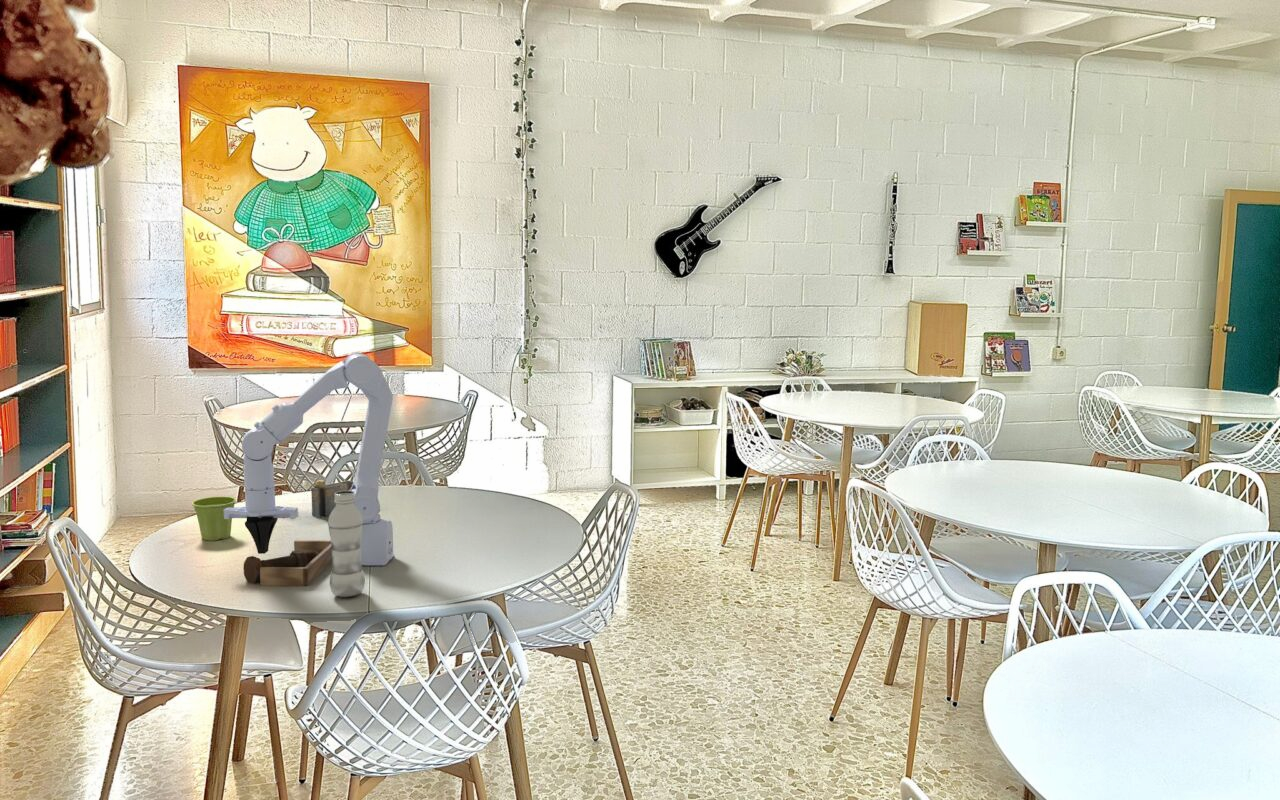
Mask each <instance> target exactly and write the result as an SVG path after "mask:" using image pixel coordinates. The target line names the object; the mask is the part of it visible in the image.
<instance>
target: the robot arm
mask: <svg viewBox="0 0 1280 800" xmlns="http://www.w3.org/2000/svg"><path fill="white" fill-rule="evenodd" d="M348 382H349V383H350V384H352V385H353V386H355V387H356V388H358V389H359V390H360V391H361V392H362V394H364V396H365V397H366V398H367V400H368V402H367V403H368V404H367V409H366V415H365V421H364V425H363V433H362V438H361V444H360V448H359V454H358V460H357V466H356V470H355V471H356V472H355V475H354V477H353V485H352V487H351V489H350V490H349V491H354V495H355V502H354V505H355V507H356V508H357V509H358V510H359V512H360V513H361V515H362V518H363V523H362V532H361V546H360V548H361V561H362V566H387V564H388V563H389V562H390V560H391V559H392V558H393V557H394V556H395V553H394V531H393V529H394V528H393V523H392V521H391V520H389V519H388V520H387V519H382V518H381V516H382V515H380V510H381V503H380V502H379V498H378V497H379V484H380V482H379V480H380V473H381V472H380V471H381V467H382V462H383V461H382V460H383V455H384V450H385V445H386V444H385V443H386V438H387V432H388V427H389V421H390V415H391V410H392V405H393V400H394V399H393V392H392V390H391V388H390V386H389V384H388V382H387V380H386V378H385V375H384V373H383V369H382V368H381V367H380V366H378V364H377V363H376V362H375V361H374V360H373V359H371V358H370V357H369V356H368V355H367V354H364V353H361V352H354V353H350V354H349V355H347V357H345V359H344V360H340V361H339V362H337V363H336V364H335V365H333V366H332V367H331V368H329V369H328V370H327V371H325V373H324V374H322V375H321V376H320V377H319V378H318V379H317V380H316V381H314V383H313V384H311V385H310V386H309V387H308V388H307V389H306V390H305V391H304V392H302V394H301V395H299V396H298V397H297V398H296V399H295V400H294V401H293V402H281V404H279V405H278V404H274V406H273V407H271V409H272V411H271V412H270V413H268V415H267V416H266V417H264V418H263V419H262V420H261V421H260V422H259V421H255V423H254V424H253V427H254V428H251V429H250V430H248V431H246V433H245V434H244V435H243V438H242V442H241V449H242V452H243V455H244V456H243V458H242V459H243V464H244V465H243V468H242V469H243V485H244V500H245V501H244V503H245V506H238V507H235V506H234V508H226V509H224V510H223V511H224V519H230V518H232V519H246V520H245V522H244V526H245V528H246V529H247V530H248V532H249V534H250V535H251V537H252V539H253V542H254V544H255V547H256V550H257V551H256V552H257V554H260V555H261V554H263V555H264V554H266V553H267V552H269V546H270V541H271V537H272V534H273V531H274V529H275V527H276V524H277V522H278V519H290V520H291V519H292V520H296V519H297V518H298V517H299V507H295V506H294V507H292V506H281V505H276V494H275V493H276V491H275V489H276V488H275V475H274V474H275V473H274V471H275V470H274V464H273V463H272V452H273V450H274V446H275V445H279V444H280V443H282V442H283V441H284V440H285V439H286V438H287V437H289V436H290V435H291V434H292V433H293V432H294V431H296V430H297V429H298V428H299V427H300V426H302V424H304V415H305V413H307V412H308V411H309V410H311V409H312V408H313V407H314V406H316V405H317V404H318V403H319V402H321V400H323V399H324V398H325V397H327V396H328V395H329V394H330V393H331V392H333V391H335V390H339V389H341V390H342V389H346V388H347V389H348V388H349V384H348Z"/></svg>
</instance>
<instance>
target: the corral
mask: <svg viewBox="0 0 1280 800" xmlns="http://www.w3.org/2000/svg"><path fill="white" fill-rule="evenodd" d="M293 549H294V550H293V551H295V550H301V551H303V552H304V553H307V552H311V551H316V552H317V553H318V554H319V555H317V556H316V557H315V558H314V559H313V560H312V561H311V562H310V563H308V564H307V565H306V566H305V567H261V568H260V583H259V584H260V586H261V587H262V586H263V587H264V586H269V587H270V586H271V587H272V586H273V587H274V586H276V587H281V586H282V587H297V586H298V587H299V586H300V587H308V586H310V584H311V583H312V582H313V581H314V580H315V579H316V578H318V576H320V575H321V573H323V572H324V571H325V570H326V569H327V568H328V567H329V566H330V565H332V547H331V539H329V540H327V539H326V540H325V539H322V540H318V539H315V540H313V539H312V540H311V539H310V540H309V539H308V540H306V539H304V540H303V539H302V540H301V539H300V540H298V539H295V540H294V541H293Z"/></svg>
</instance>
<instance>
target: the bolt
mask: <svg viewBox="0 0 1280 800" xmlns="http://www.w3.org/2000/svg"><path fill="white" fill-rule="evenodd" d="M317 555H319V554H318V553H317V552H316V551H311V552H307V553H304V552H303V551H301V550H295V551H294V550H292V551H291V552H290V553H289V555H285V556H281V557H280V556H278V557H275V558H270V559H261V558H259V557H256V556H254V555H252V556H247V557H246V558H245V560H244V562H243V575H244V578H245V580H246V582H247V581H248V583H249V584H251V583H252V585H258V584H261V583H260V568H261V567H305V566H306V565H307V564H308V563H310V562H311V561H312V560H313V559H314V558H315V557H316V556H317ZM257 583H258V584H257Z"/></svg>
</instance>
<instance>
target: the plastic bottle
mask: <svg viewBox="0 0 1280 800" xmlns="http://www.w3.org/2000/svg"><path fill="white" fill-rule="evenodd" d="M354 502H355V495H354V491H339V492H336V493H335V500H334V503H335V504H336V506H335V508H334V509H333V510H332V512H331V514H330V515H328V520H327V526H328V531H329V537H330V540H331V547H332V563H331V572H330V577H329V586H330V587H329V588H330V591H331V593H332V594H333V595H334V596H336V597H339V598H348V597H349V598H350V597H354V596H358V595H360V594H361V593H362V592H363V590H364V589H365V584H366V578H365V573H364V570H363V565H362V561H361V548H360V546H361V532H362V523H363V518H362V515H361V513H360V512H359V510H358V509H357V508H356V507H355V505H354Z"/></svg>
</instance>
